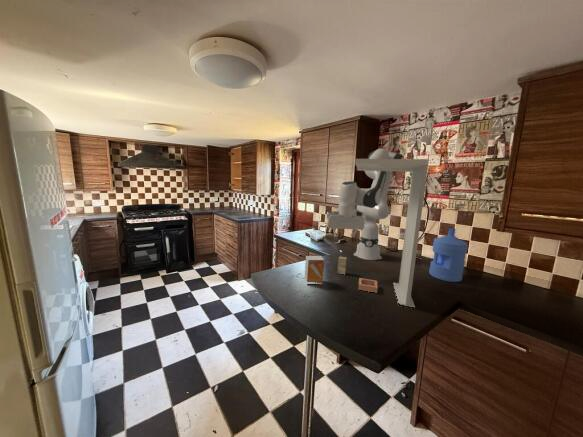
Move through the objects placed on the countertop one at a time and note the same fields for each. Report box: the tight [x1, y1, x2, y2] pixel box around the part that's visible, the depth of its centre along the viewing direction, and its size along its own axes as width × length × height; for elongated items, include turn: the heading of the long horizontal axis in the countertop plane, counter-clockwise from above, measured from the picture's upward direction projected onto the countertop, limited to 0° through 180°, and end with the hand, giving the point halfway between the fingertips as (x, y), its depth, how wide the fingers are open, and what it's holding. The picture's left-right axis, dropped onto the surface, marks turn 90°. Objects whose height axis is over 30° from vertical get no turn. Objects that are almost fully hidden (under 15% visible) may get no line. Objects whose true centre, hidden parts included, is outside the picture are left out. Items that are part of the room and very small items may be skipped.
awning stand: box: [354, 158, 430, 309], centre depth 104 cm, size 22×28×60 cm
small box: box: [304, 255, 325, 284], centre depth 114 cm, size 8×6×13 cm
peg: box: [336, 256, 348, 276], centre depth 127 cm, size 4×4×9 cm
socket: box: [357, 277, 378, 294], centre depth 110 cm, size 8×8×3 cm
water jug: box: [428, 227, 468, 283], centre depth 127 cm, size 16×16×28 cm
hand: (344, 236), depth 124 cm, fingers open, 8 cm apart
